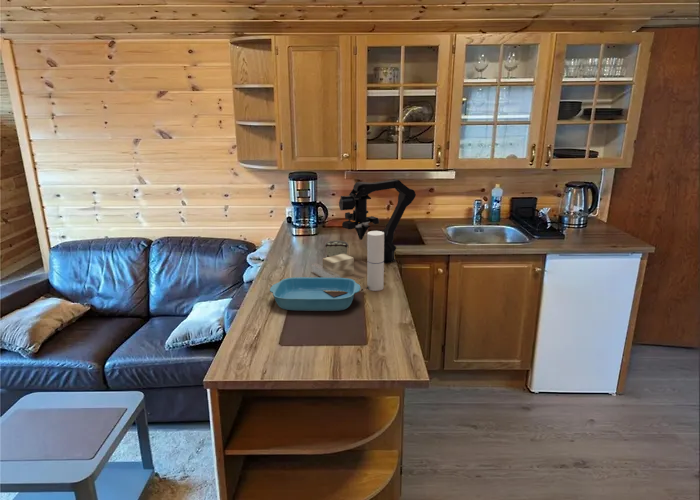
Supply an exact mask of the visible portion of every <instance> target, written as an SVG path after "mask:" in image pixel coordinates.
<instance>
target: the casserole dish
mask: <svg viewBox="0 0 700 500" xmlns="http://www.w3.org/2000/svg"><path fill="white" fill-rule="evenodd" d="M361 289H362V288H361V285H360V284H359V283H357V282H356V280H352V279H349V278H323V277H318V276H316V277H313V276H312V277H310V276H309V277H307V276H297V277H287V278H283V279H281V280H280V281H278V282H276V283H274V284H272V285H271V286H270V288H269V292H270V293H271V294H272V296H273V299H274V300H275V302H276V304H277V306H278V307H279V308H281V309H282V310H286V311H287V310H288V311H299V312H300V311H301V312H304V311H305V312H308V311H309V312H311V311H313V312H334V311H335V312H338V311H344V310H346V309H348V308H349V307H350V306H351V305H352V303H353V300H354V297H355V294H357V293H359V292H360V291H361ZM326 291H331V292H332V291H336V292H337V291H338V292H345V293H342V294H339V295H336V296H333V295H331V294H330V293H328V292H326Z"/></svg>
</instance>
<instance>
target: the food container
mask: <svg viewBox="0 0 700 500" xmlns="http://www.w3.org/2000/svg"><path fill="white" fill-rule="evenodd" d="M324 248H325V252H326V258H327V257H331V256H335V255H339V254H346V255H348V249H349V248H350V247H349V244H348V242H347V241H344V240H338V239H337V240H329V241H326V242H325V243H324Z"/></svg>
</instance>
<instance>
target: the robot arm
mask: <svg viewBox="0 0 700 500" xmlns="http://www.w3.org/2000/svg"><path fill="white" fill-rule="evenodd" d="M391 189H395V190H396V191H397V192H398V196H397V204H396V206H395V208H394V210H393V212H392V214H391V216H390V218H389V221H388V223H387V224H386V226H385V228H384V229H383V230H381V229H380V230H379V231H382V232H384V264H389V263H394V262H397V259H396V258H395V252H396V250H397V246H396V245H395V244H394V243H393V241H394V236H395V235H394V233H395V232H396V229H397V227H398V224H399V223H400V222H401V219H402V217H403V215H404V213H405V211H406V209H407V207H408V206H409V205H411V204H412V203H413V201H414V199H415V198H416V191H415V190H414V189H413V188H410V187H408V186H407V185H405V184H404V183H403V182H402V181H401V180H399V179H397V178H392V179H389V180H381V181H375V182H367V181H366V182H365V181H357V182H355V183H354V185H353V188H352V190H350V193H349V194H348V195H340V199H339V202H338V207H339V210H340V211H348V212H345V213H344V217H345V221H343V222H342V224H341V227H342V228H343V229H346V230H353V229H354V230H355V231H356V233H357V236H358V239H359V240H360V241H361V240H363V238H364V236H365V235H366V232H368V231H367V230H368V229H369V228H370V227H371V226H370V225H369V224H370V223H372V224H373V225H379V224H380V219H379V218H378V217H376V216H372V215H371V216H368V214H369V210H367V209H368V206H367V205H368V203H367V202H368V201H367V200H371V199H372V197H371V196H370V194H372V193H374V192H377V191H383V190H391ZM349 210H353V211H352V213H351V212H350V211H349Z"/></svg>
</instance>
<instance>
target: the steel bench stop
mask: <svg viewBox="0 0 700 500" xmlns="http://www.w3.org/2000/svg"><path fill="white" fill-rule="evenodd" d="M311 272H312V273H311V274H313V273H314V274H316V275H318V276H320V277H323V278H340V275H338V274H336V273H334V272H332V271H330V270H328V269H326V268H324V267H323V265H321V264H319V263H317V262H315V263H311ZM314 274H313V275H314ZM316 275H315V276H316ZM318 276H317V277H318Z"/></svg>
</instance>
